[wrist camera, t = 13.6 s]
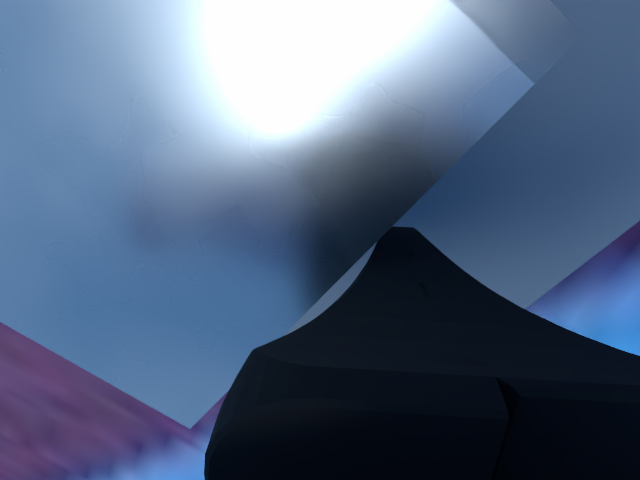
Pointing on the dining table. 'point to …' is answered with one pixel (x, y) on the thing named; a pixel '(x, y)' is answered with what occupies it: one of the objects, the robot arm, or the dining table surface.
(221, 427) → the robot arm
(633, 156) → the board
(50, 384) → the dining table surface
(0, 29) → the housing cover
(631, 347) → the dining table surface
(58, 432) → the dining table surface
